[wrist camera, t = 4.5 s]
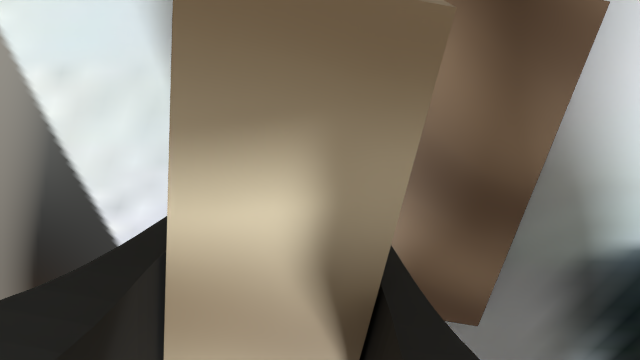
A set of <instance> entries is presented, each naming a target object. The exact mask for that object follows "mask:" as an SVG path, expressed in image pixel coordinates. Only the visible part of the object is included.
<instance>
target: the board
mask: <svg viewBox="0 0 640 360" xmlns="http://www.w3.org/2000/svg"><path fill="white" fill-rule="evenodd" d="M444 1H446V2H448V3H450V4H451V5H453V6H455V7H457V8H456V11H455V15H454V18H453V22H452V26H451V29H450V33H449V37H448V40H447V44H446V47H445V51H444V55H443V58H442V62H441V66H440V69H439V73H438V76H437V80H436V84H435V87H434V91H433V95H432V98H431V102H430V105H429V109H428V113H427V116H426V120H425V124H424V127H423V131H422V134H421V138H420V142H419V145H418V149H417V153H416V156H415V160H414V163H413V167H412V171H411V174H410V178H409V182H408V185H407V189H406V192H405V196H404V200H403V203H402V207H401V211H400V214H399V218H398V221H397V225H396V229H395V232H394V236H393V240H392V243H391V246H392V247H393V249H394V250H395V252H396V253H397V255H398V256H399V258H400V259H401V261H402V263H403V264H404V266H405V267H406V269H407V270H408V272H409V273H410V275H411V276H412V278H413V280H414V281H415V282H416V284H417V285H418V287H419V288H420V290H421V291H422V293H423V294H424V295H425V297H426V298H427V300H428V301H429V302H430V304H431V305H432V306H433V308H434V309H435V310H436V311H437V313H438V314H439V315H440V316H441V317H442V319H443V320H444V321H449V322H455V323H461V324H467V325H473V326H478V325H479V322H480V320H481V317H482V315H483V312H484V310H485V308H486V305H487V303H488V300H489V298H490V295H491V293H492V290H493V288H494V285H495V283H496V281H497V278H498V276H499V273H500V271H501V268H502V266H503V263H504V261H505V258H506V256H507V254H508V251H509V249H510V246H511V244H512V241H513V239H514V236H515V234H516V231H517V229H518V227H519V224H520V222H521V219H522V217H523V214H524V212H525V209H526V207H527V204H528V202H529V200H530V197H531V195H532V192H533V190H534V187H535V185H536V182H537V180H538V177H539V175H540V173H541V170H542V168H543V165H544V163H545V160H546V158H547V155H548V153H549V151H550V148H551V146H552V143H553V141H554V138H555V136H556V133H557V131H558V128H559V126H560V124H561V121H562V119H563V116H564V114H565V111H566V109H567V106H568V104H569V101H570V99H571V97H572V94H573V92H574V89H575V87H576V84H577V82H578V79H579V77H580V74H581V72H582V70H583V67H584V65H585V62H586V60H587V57H588V55H589V52H590V50H591V47H592V45H593V43H594V40H595V38H596V35H597V33H598V30H599V28H600V25H601V23H602V20H603V18H604V16H605V13H606V11H607V8H608V6H609V3H610V2H609V1H604V0H444Z"/></svg>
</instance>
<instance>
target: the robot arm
mask: <svg viewBox="0 0 640 360" xmlns="http://www.w3.org/2000/svg"><path fill="white" fill-rule="evenodd" d="M166 248H167V216H166V217H165V218H163V219H162V220H160V221H158V222H157V223H155V224H154V225H152V226H151V227H149V228H148V229H146V230H145V231H143V232H141V233H140V234H138V235H137V236H135V237H133V238H132V239H130V240H128V241H127V242H125V243H124V244H122V245H120V246H118V247H117V248H115V249H113V250H111V251H109V252H108V253H106V254H104V255H102V256H100V257H98V258H97V259H95V260H93V261H91V262H90V263H88V264H86V265H84V266H82V267H80V268H78V269H76V270H73V271H71V272H69V273H67V274H65V275H63V276H60V277H58V278H56V279H54V280H52V281H49V282H47V283H45V284H42V285H40V286H38V287H35V288H32V289H30V290H27V291H24V292H21V293H19V294H16V295H13V296H10V297H8V298H5V299H2V300H0V360H164V326H165V287H166ZM359 360H480V359H479V358H478V357H477V356H476V355H475V354H474V353H473V352H472V351H471V350H470V349H469V348H468V347H467V346H466V345H465V344H464V343H463V342H462V341H461V340H460V339H459V337H458V336H457V335H456V334H455V333H454V332H453V331H452V330H451V328H450V327H449V326H448V325H447V324H446V322H445V321H444V320H443V319H442V317H441V316H440V315H439V314H438V313H437V311H436V310H435V309H434V308H433V306H432V305H431V304H430V302H429V301H428V300H427V298H426V297H425V295H424V294H423V293H422V291H421V290H420V288H419V287H418V285H417V284H416V282H415V281H414V280H413V278H412V276H411V275H410V273H409V272H408V270H407V269H406V267H405V266H404V264H403V263H402V261H401V259H400V258H399V256H398V255H397V253H396V252H395V250H394V249H393V247H392V246H391V247H390V250H389V254H388V258H387V261H386V265H385V269H384V272H383V276H382V279H381V283H380V287H379V290H378V294H377V298H376V301H375V305H374V308H373V312H372V316H371V319H370V323H369V327H368V330H367V334H366V337H365V341H364V345H363V348H362V352H361V356H360V359H359Z"/></svg>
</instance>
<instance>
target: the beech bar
mask: <svg viewBox="0 0 640 360" xmlns="http://www.w3.org/2000/svg"><path fill="white" fill-rule="evenodd" d="M456 8H457V7H455V6H453V5H451V4H450V3H448V2H446V1H444V0H173V15H172V54H171V93H170V132H169V171H168V210H167V248H166V287H165V326H164V360H359V359H360V356H361V352H362V348H363V345H364V341H365V337H366V334H367V330H368V327H369V323H370V319H371V316H372V312H373V308H374V305H375V301H376V298H377V294H378V290H379V287H380V283H381V279H382V276H383V272H384V269H385V265H386V261H387V258H388V254H389V250H390V247H391V243H392V240H393V236H394V232H395V229H396V225H397V221H398V218H399V214H400V211H401V207H402V203H403V200H404V196H405V192H406V189H407V185H408V182H409V178H410V174H411V171H412V167H413V163H414V160H415V156H416V153H417V149H418V145H419V142H420V138H421V134H422V131H423V127H424V124H425V120H426V116H427V113H428V109H429V105H430V102H431V98H432V95H433V91H434V87H435V84H436V80H437V76H438V73H439V69H440V66H441V62H442V58H443V55H444V51H445V47H446V44H447V40H448V37H449V33H450V29H451V26H452V22H453V18H454V15H455V11H456Z"/></svg>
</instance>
